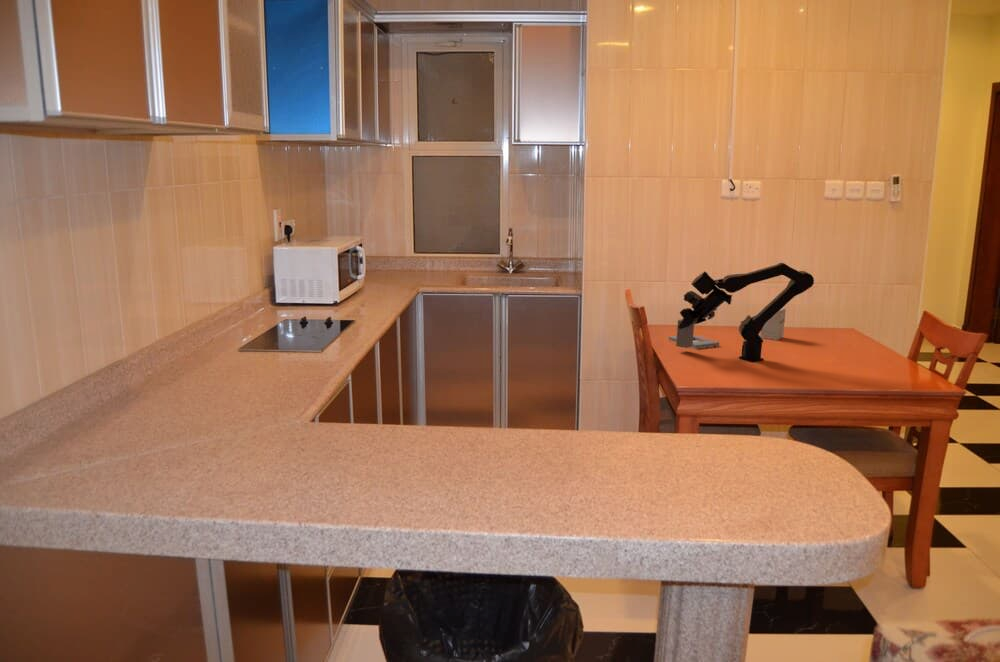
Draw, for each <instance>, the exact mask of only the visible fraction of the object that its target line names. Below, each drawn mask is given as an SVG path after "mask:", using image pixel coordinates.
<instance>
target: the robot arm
mask: <svg viewBox="0 0 1000 662" xmlns="http://www.w3.org/2000/svg"><path fill="white" fill-rule="evenodd" d="M780 276H784V277H785V278H788V279H790V280H789V282H787V283H788V284H787V285H786V287H785V288H784V289H783V290H782V291H781V292H780V293H779V294H778V295H777V296H775V298H774V299H772V300H771V301H770V302H769V303H768V304H767V305H766V306H765V307H764V308H762V310H760V311H759V312H758V313H757V314H756V315H753V316H751V315H750V314H748V315H747V316H746V317H745V318H744V319H743V320H742V321H740V325H739V326H738V333H739V334H740V336H741V337H742V338H743V340H744V341H743V343H742V345H741V355H740V356H738V358H739V359H741V360H745V361H747V362H759V361H764V360H765V358H763V357H762V350H763V349H762V348H763V343H764V340H763V338H761V335H759V334H761V330H762V328H763V326H764V325H765V323H766V322H767V321H768V320H769V319H771V318H772V317H773V316H774V315H775V314H776V313H777V312H778V311H779V310H780V309H781V308H785V306H786V305H787V304H788V303H789V302H790V301H791V300H793V298H795V297H796V296H798V295H801V294H802V293H804V292H806V291H807V290H809V289H810V288H812V287H813V285H814V284H815V283H814V282H815V278H814V277H813V275H812V274H810V273H808V271H805V270H799V271H798V270H797V269H795V268H793V267H791V266H789V265H787V264H786V263H785V262H779V263H777V264H775V265H771V266H768V267H763V268H761V269H757V270H754V271H750V272H747V273H736V274H728V275H725V276H724V277H723V278H719V279H713V278H712V276H710V275H709V274H708V272H707V271H705V270H704V271H703V272H701V273H700V274H699V275H698V276H696V277H695V278H694V279H693V281H691V285H692V286H693V287H694V288H695V289H696V290H697V291H698V292H699V293H700V294H701V295H706V296H705V297H702V296H701V295H700V294H698V293H696V292H695V291H693V290H690V291H687V292H686V293H685V294H684V295H683V300H684V301H685V302H687V303H689V304H690V305H691V308H688V307H687V308H682V310H681V311H680V312H679V314H680V316H681V317H682V319H683V320H682V322H681V323H680V325H679V329H682V328H685V327H688V326H691V325H694V326H695V325H698V324H700V323H703V322H706V321H707V320H712V319H713V318H715V316H716V311H717V310H718V308H719V307H721V305H722V304H724V303H727V304H728V305H731V303H732V301H733V300H732V299H733V298H732V297H733V295H732V293H736V292H738V291H739V292H740V291H741V290H742V289H745V287H747V286H749V285H752V284H755V283H759V282H763V281H765V280H766V281H767V280H769V279H773V278H777V277H780ZM728 293H730V294H728Z"/></svg>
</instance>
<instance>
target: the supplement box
mask: <svg viewBox="0 0 1000 662" xmlns="http://www.w3.org/2000/svg"><path fill="white" fill-rule="evenodd" d="M786 310H787V308H786V307H783V308H781V309H780V310H779V311H778V312H777V313H776V314H775V315H774V316H773V317H772V318H771V319H769V320H768V321H767V322H766V323H765V325H764V326H763V328H762V330H761V331H760V337H761V338H762V339H766V338H767V340H772V339H774V341H779V340H781V339H783V338H784V331H785V323H786V322H785V321H786V313H787V312H786ZM782 337H783V338H782Z"/></svg>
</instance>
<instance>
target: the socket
mask: <svg viewBox="0 0 1000 662" xmlns="http://www.w3.org/2000/svg"><path fill="white" fill-rule="evenodd" d="M668 341H670V342H673V343H675V344H676V341H677V335H673V336H668ZM714 346H716V347H720V342H718V341H716V340H712V339H709V338H705V337H702V336H699V335H695V334H693V346H691V347H690V348H691V349H695V350H697V349H706V347H708V348H715V347H714Z"/></svg>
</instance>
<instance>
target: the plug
mask: <svg viewBox="0 0 1000 662" xmlns="http://www.w3.org/2000/svg"><path fill="white" fill-rule="evenodd" d="M683 319H684V318H681V319H678V320H677V328H676V336H677V341H676V343H675V344H676V345H675V346H676V347H678V348H679V347H680V348H684V349H689V348H691V346H693V335H694V329H695V325H691V326H688V327H685V328H682V329H679V325H680V323H681V322H682V320H683Z"/></svg>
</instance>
